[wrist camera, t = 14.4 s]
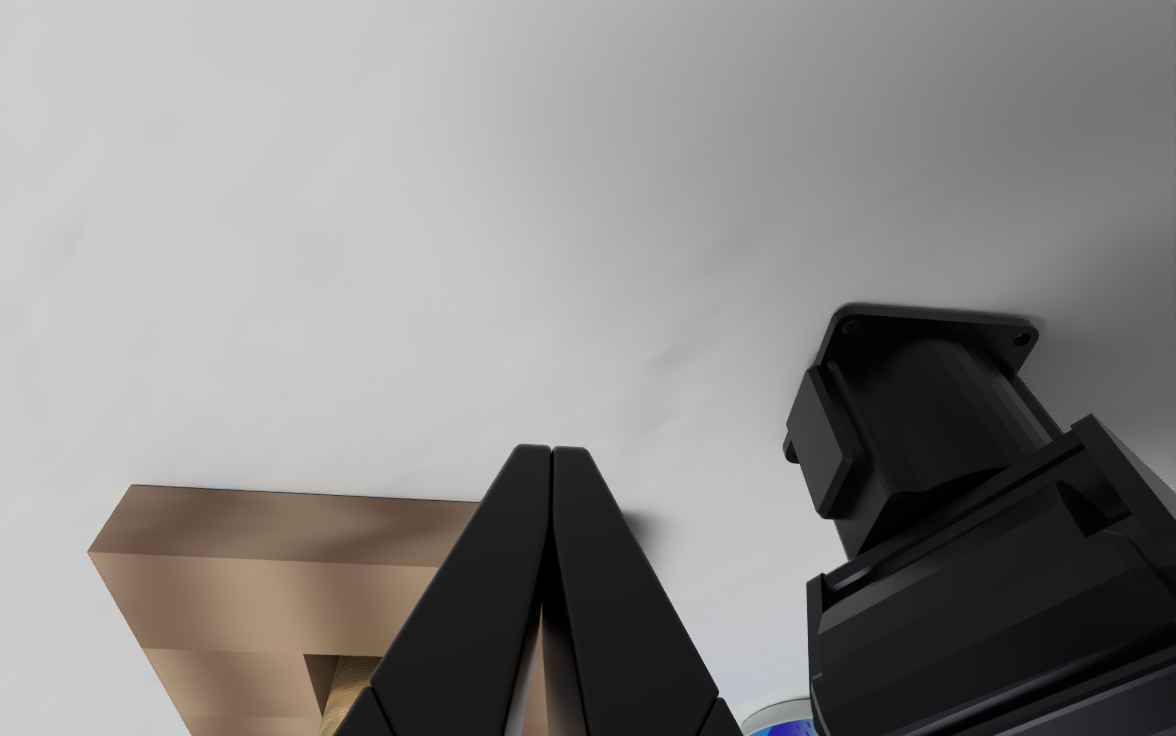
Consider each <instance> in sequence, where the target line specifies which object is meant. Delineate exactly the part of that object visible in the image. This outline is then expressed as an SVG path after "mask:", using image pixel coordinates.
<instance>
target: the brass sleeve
mask: <svg viewBox="0 0 1176 736" xmlns="http://www.w3.org/2000/svg"><path fill="white" fill-rule="evenodd" d="M381 659H382V657H379V656H350V655H340V657H339V661H338V664H337V668H336V672H335V675H334V679H333V682H332V686H331V690H330V693H329V697H328V701H327V704H326V708H325V712H324V715H323V719H322V722H321V726H320V730H319V733H318V736H332V735H333V734H334V732H335V731H336V729H337V728H338V726H339V725H340V723H341V722H342V720H343V718H344V717H345V715H346V714H347V712H348V711H349V709H350V707H351V706H352V704H353V703H354V701H355V699H356V698H357V696H358V695H359V693H360V692H361V690H362V688H363V687H365V686H369V678H370V676H371V675H372V673H373V672H374V670H375V668H376V667H377V665H378V664H379V662H380V661H381Z"/></svg>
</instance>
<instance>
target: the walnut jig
mask: <svg viewBox="0 0 1176 736" xmlns="http://www.w3.org/2000/svg"><path fill="white" fill-rule="evenodd" d="M479 504H480V503H469V502H450V501H430V500H411V499H391V498H371V497H352V496H332V495H312V494H293V493H273V492H254V491H234V490H214V489H195V488H175V487H155V486H136V485H131V486H130V487H129V489H128V490H127V492H126V493H125V495H124V496H123V498H122V499H121V501H120V502H119V504H118V505H117V507H116V508H115V510H114V512H113V513H112V515H111V516H110V518H109V519H108V521H107V522H106V524H105V525H104V527H103V528H102V530H101V531H100V533H99V534H98V536H97V538H96V539H95V541H94V542H93V544H92V545H91V547H90V548H89V550H88V551H87V553H88V555H89V557H90V558H91V560H92V562H93V564H94V565H95V567H96V569H97V571H98V572H99V574H100V576H101V578H102V579H103V581H104V583H105V585H106V586H107V588H108V590H109V592H110V593H111V595H112V597H113V599H114V600H115V602H116V604H117V606H118V607H119V609H120V611H121V613H122V614H123V616H124V618H125V620H126V621H127V623H128V625H129V627H130V628H131V630H132V632H133V634H134V635H135V637H136V639H137V641H138V642H139V644H140V646H141V648H142V649H143V651H144V653H145V655H146V656H147V658H148V660H149V662H150V663H151V665H152V667H153V669H154V671H155V672H156V674H157V676H158V678H159V679H160V681H161V683H162V685H163V686H164V688H165V690H166V692H167V693H168V695H169V697H170V699H171V700H172V702H173V704H174V706H175V707H176V709H177V711H178V713H179V714H180V716H181V718H182V720H183V721H184V723H185V725H186V727H187V728H188V730H189V732H190V734H191V735H192V736H318V733H319V730H320V726H321V722H322V719H323V715H324V712H325V708H326V704H327V701H328V697H329V693H330V690H331V686H332V682H333V679H334V675H335V672H336V668H337V664H338V661H339V657H340V655H350V656H379V657H383V656H384V654H385V653H386V651H387V649H388V648H389V646H390V645H391V643H392V642H393V640H394V638H395V637H396V635H397V634H398V632H399V630H400V629H401V627H402V626H403V624H404V623H405V621H406V619H407V618H408V616H409V615H410V613H411V611H412V610H413V608H414V607H415V605H416V603H417V602H418V600H419V599H420V597H421V596H422V594H423V592H424V591H425V589H426V588H427V586H428V584H429V583H430V581H431V580H432V578H433V577H434V575H435V573H436V572H437V570H438V569H439V567H440V565H441V564H442V562H443V561H444V559H445V557H446V556H447V554H448V553H449V551H450V550H451V548H452V546H453V545H454V543H455V542H456V540H457V538H458V537H459V535H460V534H461V532H462V531H463V529H464V527H465V526H466V524H467V523H468V521H469V519H470V518H471V516H472V515H473V513H474V512H475V510H476V508H477V507H478V505H479ZM541 618H542V608H541ZM541 618H540V627H539V634H538V641H537V648H536V653H535V659H534V665H533V670H532V676H531V682H530V687H529V693H528V699H527V704H526V710H525V716H524V722H523V727H522V733H521V736H549V735H548V721H547V707H546V693H545V679H544V665H543V651H542V630H541Z"/></svg>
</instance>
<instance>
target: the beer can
mask: <svg viewBox="0 0 1176 736" xmlns="http://www.w3.org/2000/svg"><path fill="white" fill-rule="evenodd" d="M740 730H741V731H742V733H743V735H744V736H818V735H817V733H816V731H815V728H814V724H813V715H812V710H811V702H810V699H803V700H794V701H789V702H784V703H780V704H776V705H773V706H770V707H767V708H765V709H763V710H760V711H758V712H757V713H755V714H753V715H752V716H750V717H749V718H748V719H747V720H746V721H745V722H744V723H743V724H742V726H741V728H740Z"/></svg>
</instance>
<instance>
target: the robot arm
mask: <svg viewBox="0 0 1176 736" xmlns="http://www.w3.org/2000/svg"><path fill="white" fill-rule="evenodd" d="M849 321H854V323H853V324H852V325H850V326H846V327H843V326H844V324H845V323H847V322H849ZM1020 334H1022V335H1021V336H1020V337H1018V338H1016V337H1017V336H1018V335H1020ZM1038 338H1039V332H1038V330H1037V329H1036V328H1035V327H1034V326H1033V325H1032V324H1031V323H1030V322H1029V321H1028V320H1024V319H1013V318H999V317H986V316H972V315H959V314H946V313H932V312H919V311H905V310H892V309H878V308H865V307H845V308H842V309H840V310H838V311H837V312H836V313H835V314H834V315H833V317H832V318H831V321H830V323H829V326H828V329H827V331H826V334H825V336H824V339H823V342H822V344H821V347H820V349H819V352H818V355H817V357H816V360H815V363H814V365H812V366H810V367H809V368H808V369H807V370H806V372H805V375H804V378H803V380H802V383H801V386H800V388H799V391H798V394H797V396H796V399H795V402H794V404H793V407H792V410H791V412H790V415H789V418H788V420H787V423H786V425H787V429H788V433H787V436H786V438H785V441H784V444H783V452H784V455H785V457H786V459H787V461H789V462H791V463H795V464H800V466H801V469H802V472H803V475H804V478H805V481H806V484H807V487H808V489H809V492H810V495H811V498H812V501H813V504H814V507H815V510H816V512H817V513H818V514H819V515H820V517H821V518H822V519H832V520H834V523H835V526H836V529H837V531H838V534H839V537H840V540H841V542H842V545H843V548H844V551H845V553H846V556H847V559H848V562H846V563H845V564H843V565H841V566H840V567H838V568H836V569H835V570H833V571H831V572H830V573H828V574H824V573H821V574H820V575H818V576H816V577H815V578H813V579H811V580H810V581H808V582H807V584H806V587H807V622H808V656H809V691H810V702H811V710H812V715H813V724H814V728H815V731H816V733H817V735H818V736H1176V493H1175V492H1174V491H1173V490H1172V489H1171V488H1170V487H1169V486H1168V485H1167V484H1165V483H1164V482H1163V481H1162V480H1161V479H1160V478H1159V477H1158V476H1157V475H1156V474H1155V473H1154V472H1153V471H1152V470H1151V469H1150V468H1149V467H1148V466H1147V465H1146V464H1144V463H1143V462H1142V461H1141V460H1140V459H1139V458H1138V457H1137V456H1136V455H1135V454H1134V453H1133V452H1132V451H1131V450H1130V449H1129V448H1128V447H1127V446H1126V445H1125V444H1124V443H1122V442H1121V441H1120V440H1119V439H1118V438H1117V437H1116V436H1115V435H1114V434H1113V433H1112V432H1111V431H1110V430H1109V429H1108V428H1107V427H1106V426H1105V425H1104V424H1103V423H1102V422H1100V421H1099V420H1098V419H1097V418H1096V417H1095V416H1094V415H1093V414H1092V413H1091V414H1089V415H1088V416H1086V417H1084V418H1083V419H1081V420H1079V421H1077V422H1076V423H1074V424H1072V425H1071V428H1072V430H1070V431H1068V432H1067V433H1065V434H1064V433H1063V432H1062V431H1061V429H1060V428H1059V427H1058V425H1057V424H1056V423H1055V422H1054V420H1053V419H1052V418H1051V417H1050V415H1049V414H1048V413H1047V411H1046V410H1045V409H1044V408H1043V406H1042V405H1041V404H1040V402H1039V401H1038V400H1037V399H1036V397H1035V396H1034V395H1033V394H1032V392H1031V391H1030V390H1029V388H1028V387H1027V386H1026V385H1025V383H1024V382H1023V381H1022V380H1021V378H1020V377H1019V376H1018V374H1017V373H1018V371H1019V369H1020V368H1021V366H1022V365H1023V363H1024V361H1025V360H1026V358H1027V357H1028V355H1029V353H1030V352H1031V350H1032V349H1033V347H1034V345H1035V344H1036V342H1037V340H1038ZM541 608H542V618H541ZM540 618H541V630H542V651H543V665H544V679H545V693H546V707H547V721H548V735H549V736H744V735H743V733H742V731H741V730H740V728H739V726H738V724H737V722H736V720H735V719H734V717H733V715H732V713H731V711H730V709H729V707H728V706H727V704H726V702H725V700H724V699H723V698H721V697H719V698H717V697H718V695H719V690H718V688H717V686H716V684H715V682H714V681H713V679H712V677H711V675H710V673H709V671H708V670H707V668H706V666H705V664H704V662H703V660H702V659H701V657H700V655H699V653H698V651H697V649H696V648H695V646H694V644H693V642H692V640H691V638H690V637H689V635H688V633H687V631H686V629H685V627H684V626H683V624H682V622H681V620H680V618H679V616H678V614H677V613H676V611H675V609H674V607H673V605H672V603H671V602H670V600H669V598H668V596H667V594H666V592H665V591H664V589H663V587H662V585H661V583H660V581H659V580H658V578H657V576H656V574H655V572H654V570H653V569H652V567H651V565H650V563H649V561H648V559H647V558H646V556H645V554H644V552H643V550H642V548H641V546H640V545H639V543H638V541H637V539H636V537H635V535H634V534H633V532H632V530H631V528H630V526H629V524H628V523H627V521H626V519H625V517H624V515H623V513H622V512H621V510H620V508H619V506H618V504H617V502H616V501H615V499H614V497H613V495H612V493H611V491H610V490H609V488H608V486H607V484H606V482H605V480H604V479H603V477H602V475H601V473H600V471H599V469H598V467H597V466H596V464H595V462H594V460H593V458H592V456H591V455H590V453H589V452H588V450H587V449H585V448H583V447H568V446H556V447H554V448H553V450H552V452H551V448H550V447H549V446H547V445H534V444H519V445H517V446H516V447H515V448H514V450H513V451H512V453H511V454H510V456H509V458H508V459H507V461H506V462H505V464H504V466H503V467H502V469H501V470H500V472H499V473H498V475H497V477H496V478H495V480H494V481H493V483H492V485H491V486H490V488H489V489H488V491H487V492H486V494H485V496H484V497H483V499H482V500H481V502H480V504H479V505H478V507H477V508H476V510H475V512H474V513H473V515H472V516H471V518H470V519H469V521H468V523H467V524H466V526H465V527H464V529H463V531H462V532H461V534H460V535H459V537H458V538H457V540H456V542H455V543H454V545H453V546H452V548H451V550H450V551H449V553H448V554H447V556H446V557H445V559H444V561H443V562H442V564H441V565H440V567H439V569H438V570H437V572H436V573H435V575H434V577H433V578H432V580H431V581H430V583H429V584H428V586H427V588H426V589H425V591H424V592H423V594H422V596H421V597H420V599H419V600H418V602H417V603H416V605H415V607H414V608H413V610H412V611H411V613H410V615H409V616H408V618H407V619H406V621H405V623H404V624H403V626H402V627H401V629H400V630H399V632H398V634H397V635H396V637H395V638H394V640H393V642H392V643H391V645H390V646H389V648H388V649H387V651H386V653H385V654H384V656H383V657H382V659H381V661H380V662H379V664H378V665H377V667H376V668H375V670H374V672H373V673H372V675H371V676H370V678H369V686H365V687H363V688H362V690H361V692H360V693H359V695H358V696H357V698H356V699H355V701H354V703H353V704H352V706H351V707H350V709H349V711H348V712H347V714H346V715H345V717H344V718H343V720H342V722H341V723H340V725H339V726H338V728H337V729H336V731H335V732H334V734H333V735H332V736H521V733H522V727H523V722H524V716H525V710H526V704H527V699H528V693H529V687H530V682H531V676H532V670H533V665H534V659H535V653H536V648H537V641H538V634H539V627H540Z"/></svg>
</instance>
